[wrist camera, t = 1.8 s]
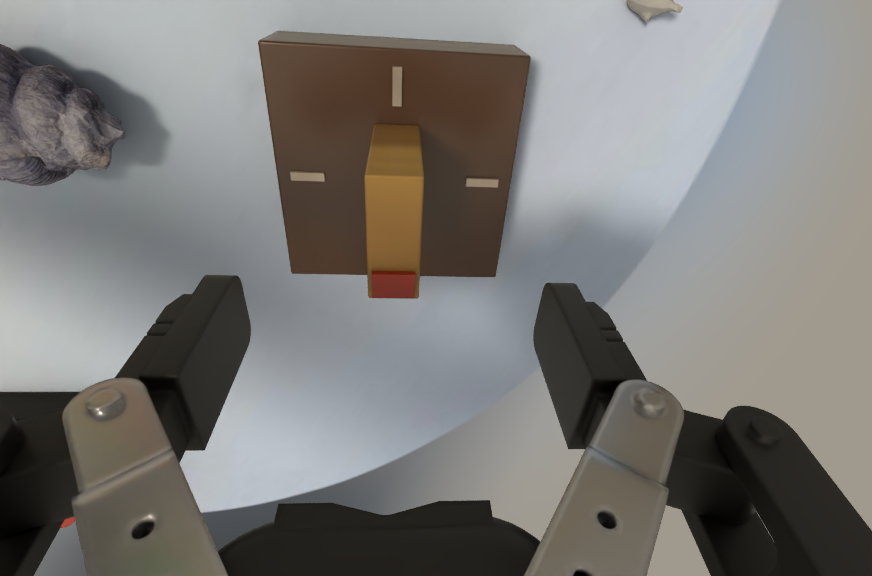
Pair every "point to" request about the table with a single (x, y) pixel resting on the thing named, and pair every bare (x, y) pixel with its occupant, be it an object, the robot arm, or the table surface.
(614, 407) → the robot arm
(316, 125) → the lock plate
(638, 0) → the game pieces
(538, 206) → the table surface
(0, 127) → the seashell
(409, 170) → the thumb turn
